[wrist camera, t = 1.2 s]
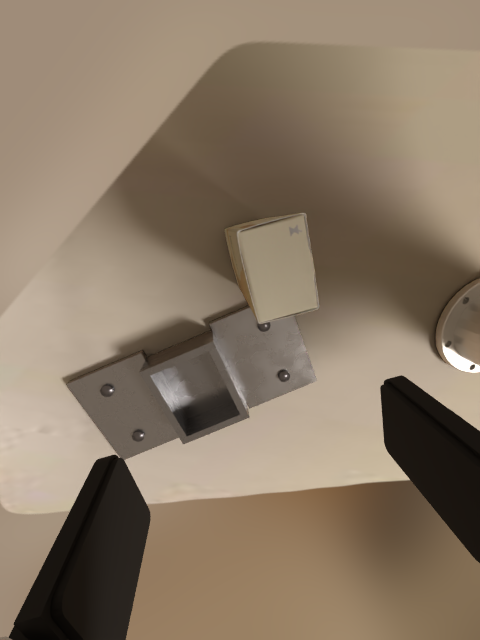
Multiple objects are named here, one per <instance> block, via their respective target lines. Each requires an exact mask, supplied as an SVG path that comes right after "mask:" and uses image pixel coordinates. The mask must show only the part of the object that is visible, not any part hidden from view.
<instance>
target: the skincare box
mask: <svg viewBox="0 0 480 640" xmlns="http://www.w3.org/2000/svg"><path fill="white" fill-rule="evenodd" d="M224 232H225V237H226V241H227V246H228V250H229V254H230V258H231V262H232V266H233V269H234V273H235V276H236V280H237V283H238V286H239V288H240V290H241V291H242V293H243V295H244V297H245V299H246V301H247V303H248V304H249V306H250V308H251V310H252V312H253V314H254V316H255V318H256V320H257V321H258V323H259V324H263V323H266V322H271V321H275V320H279V319H284V318H288V317H292V316H296V315H300V314H304V313H308V312H311V311H315V310H317V309H318V308H319V299H318V291H317V285H316V278H315V270H314V262H313V257H312V251H311V245H310V238H309V231H308V225H307V218H306V214H305V213H298V214H291V215H284V216H277V217H270V218H263V219H259V220H254V221H250V222H246V223H242V224H238V225H235V226H231V227H228V228H225V230H224Z"/></svg>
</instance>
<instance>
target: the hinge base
mask: <svg viewBox="0 0 480 640" xmlns="http://www.w3.org/2000/svg"><path fill="white" fill-rule="evenodd" d="M209 325H210V327H211V329H212V330H210V331H208V332H206V333H203V334H201V335H198V336H196V337H194V338H191V339H189V340H187V341H184V342H182V343H179V344H177V345H175V346H172V347H170V348H167V349H165V350H163V351H160V352H158V353H155V354H153V355H151V356H148V357H147V356H146V355H145V353H144V351H143V350H142V351H139V352H137V353H135V354H132V355H130V356H128V357H125V358H123V359H120V360H118V361H116V362H113V363H111V364H108V365H106V366H104V367H101V368H99V369H97V370H94V371H92V372H89V373H87V374H85V375H82V376H80V377H77V378H75V379H73V380H70V381H69V382H68V383H67V384H66V385H67V387H68V388H69V389H70V391H71V392H72V393H73V395H74V396H75V397H76V399H77V400H78V401H79V403H80V404H81V405H82V407H83V408H84V409H85V411H86V412H87V413H88V415H89V416H90V417H91V419H92V420H93V421H94V423H95V424H96V425H97V427H98V428H99V429H100V431H101V432H102V433H103V435H104V436H105V437H106V439H107V440H108V441H109V443H110V444H111V446H112V447H113V448H114V450H115V451H116V452H117V454H118V455H119V456H120V458H123V460H125V459H127V458H130V457H132V456H135V455H137V454H140V453H142V452H145V451H147V450H149V449H152V448H154V447H157V446H159V445H162V444H164V443H167V442H169V441H171V440H174V439H176V438H180V440H181V441H182V443H183V444H185V443H188V442H190V441H193V440H195V439H198V438H200V437H203V436H205V435H207V434H210V433H212V432H215V431H217V430H220V429H222V428H225V427H227V426H229V425H232V424H234V423H237V422H239V421H242V420H244V419H247V418H249V412H248V408H247V405H248V407H249V408H252V407H254V406H257V405H259V404H262V403H264V402H267V401H269V400H271V399H274V398H276V397H279V396H281V395H284V394H286V393H288V392H291V391H293V390H296V389H298V388H301V387H303V386H306V385H308V384H310V383H313V382H315V381H317V379H316V376H315V373H314V370H313V368H312V365H311V362H310V359H309V356H308V353H307V350H306V347H305V344H304V342H303V339H302V336H301V333H300V330H299V327H298V324H297V321H296V319H295V316H292V317H288V318H284V319H279V320H275V321H271V322H266V323H263V324H259V323H258V321H257V320H256V318H255V316H254V314H253V312H252V310H251V308H250V306H247V307H244V308H242V309H240V310H237V311H235V312H232V313H230V314H228V315H225V316H223V317H220V318H218V319H216V320H213V321H211V322H209Z"/></svg>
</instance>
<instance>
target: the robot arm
mask: <svg viewBox="0 0 480 640" xmlns="http://www.w3.org/2000/svg"><path fill="white" fill-rule="evenodd" d="M435 338H436V346H437V349H438V352H439V354H440V356H441V357H442V359H443V360H444V361H445V362H446V363H447V364H449V365H451V366H453V367H454V368H456V369H458V370H461V371H464V372H480V278H479V279H476V280H474V281H473V282H471V283H469V284H468V285H466V286H465V287H463V288H462V289H461V290H460V291H459V292H457V293H456V295H455V296H454V297H453V298H452V299H451V300H450V301H449V303H448V304H447V306H446V307H445V309H444V310H443V312H442V314H441V316H440V318H439V321H438V325H437V328H436V337H435ZM381 403H382V417H383V431H384V443H385V447H386V449H387V451H388V453H389V454H390V455H391V456H392V458H393V459H394V460H395V461H396V463H397V464H398V465H399V466H400V468H401V469H402V470H403V471H404V472H405V474H406V475H407V476H408V477H409V479H410V480H411V481H412V482H413V484H414V485H415V486H416V487H417V488H418V490H419V491H420V492H421V493H422V495H423V496H424V497H425V498H426V499H427V501H428V502H429V503H430V504H431V505H432V507H433V508H434V509H435V511H436V512H437V513H438V514H439V515H440V517H441V518H442V519H443V520H444V521H445V523H446V524H447V525H448V526H449V528H450V529H451V530H452V531H453V533H454V534H455V535H456V536H457V538H458V539H459V540H460V541H461V542H462V544H463V545H464V546H465V547H466V549H467V550H468V551H469V552H470V553H471V555H472V556H473V557H474V558H475V559H476V560H477V561H478V562H479V563H480V431H479V430H477V429H476V428H474V427H473V426H472V425H470V424H469V423H468V422H466V421H465V420H464V419H462V418H461V417H459V416H458V415H457V414H455V413H454V412H453V411H451V410H449V409H448V408H447V407H445V406H444V405H442V404H441V403H440V402H438V401H437V400H436V399H434V398H433V397H432V396H430V395H429V394H428V393H426V392H425V391H423V390H422V389H421V388H419V387H418V386H417V385H415V384H414V383H413V382H411V381H410V380H408V379H407V378H406V377H404V376H397V377H394V378H390V379H386V380H385V381H384V385H382V386H381ZM149 524H150V511H149V508H148V506H147V504H146V502H145V500H144V498H143V496H142V494H141V493H140V491H139V489H138V487H137V485H136V483H135V481H134V479H133V477H132V475H131V473H130V471H129V469H128V467H127V465H126V463H125V461H124V460H123V458H118V456H117V455H111V456H108V457H104V458H101V459H98V460H96V462H95V463H94V465H93V467H92V469H91V471H90V473H89V475H88V477H87V479H86V481H85V483H84V485H83V487H82V489H81V491H80V493H79V495H78V497H77V499H76V501H75V503H74V505H73V507H72V509H71V511H70V513H69V515H68V517H67V519H66V521H65V523H64V525H63V527H62V529H61V531H60V533H59V535H58V536H57V538H56V540H55V542H54V544H53V547H52V548H51V551H50V552H49V554H48V556H47V558H46V560H45V562H44V565H43V566H42V569H41V570H40V572H39V575H38V576H37V578H36V580H35V582H34V584H33V586H32V588H31V590H30V592H29V594H28V596H27V598H26V600H25V602H24V604H23V606H22V608H21V610H20V612H19V614H18V616H17V618H16V620H15V622H14V625H15V626H14V628H13V630H12V632H11V634H10V636H9V638H8V637H1V638H0V640H126V635H127V630H128V625H129V621H130V615H131V611H132V606H133V601H134V597H135V592H136V587H137V582H138V577H139V573H140V568H141V563H142V558H143V553H144V549H145V543H146V539H147V534H148V529H149Z"/></svg>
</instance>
